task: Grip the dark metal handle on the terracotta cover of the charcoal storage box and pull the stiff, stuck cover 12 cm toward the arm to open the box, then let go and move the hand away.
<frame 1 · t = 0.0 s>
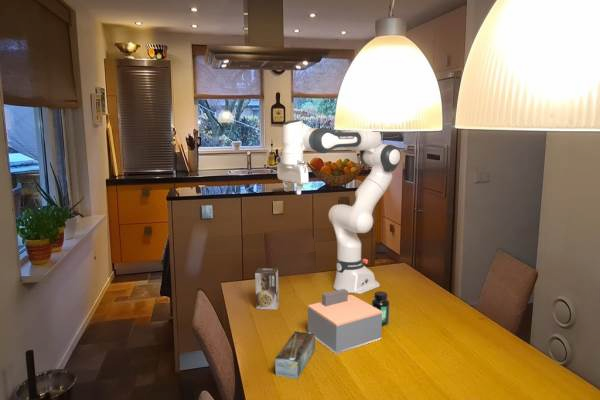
hand: (292, 192, 187), 48 cm above the table, tool pointing down, fingers open, 8 cm apart
supplement bottle: (379, 322, 175), on the table
coffee box: (267, 307, 189), on the table
cover: (344, 304, 161), point 12 cm above the table, slide at 0.0 cm
storage box: (343, 336, 163), on the table
beverage carton: (296, 363, 146), on the table
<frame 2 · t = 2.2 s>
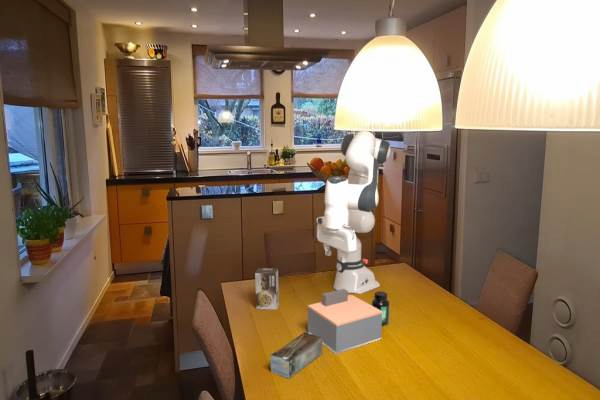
hand: (335, 258, 163), 28 cm above the table, tool pointing down, fingers open, 8 cm apart
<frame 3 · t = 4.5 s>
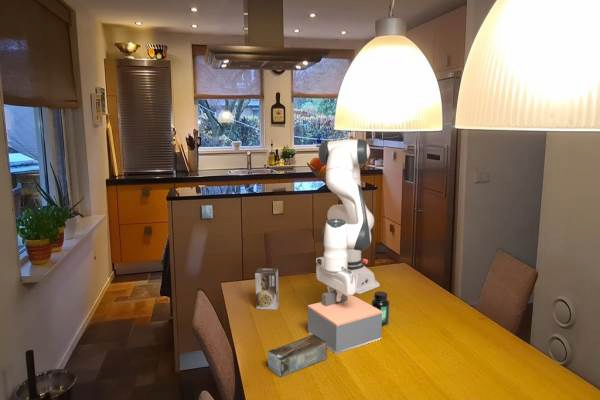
hand: (334, 299, 166), 12 cm above the table, tool pointing down, fingers closed on cover, 2 cm apart
cover: (344, 304, 161), point 12 cm above the table, slide at 0.0 cm, touching gripper
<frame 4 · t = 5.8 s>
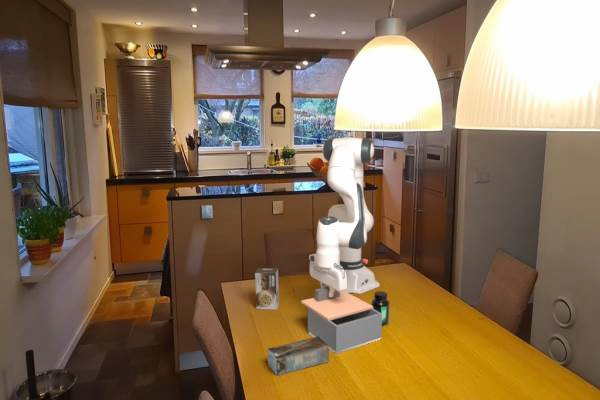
hand: (327, 294, 170), 12 cm above the table, tool pointing down, fingers closed on cover, 2 cm apart
cover: (336, 299, 165), point 12 cm above the table, slide at 4.9 cm, touching gripper
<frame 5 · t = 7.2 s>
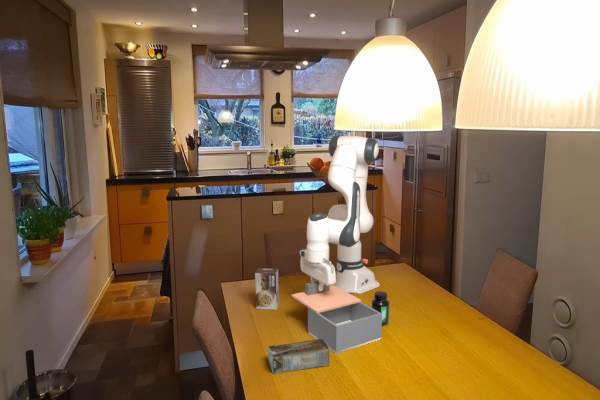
hand: (317, 288, 176), 12 cm above the table, tool pointing down, fingers closed on cover, 2 cm apart
cover: (325, 293, 171), point 12 cm above the table, slide at 11.9 cm, touching gripper
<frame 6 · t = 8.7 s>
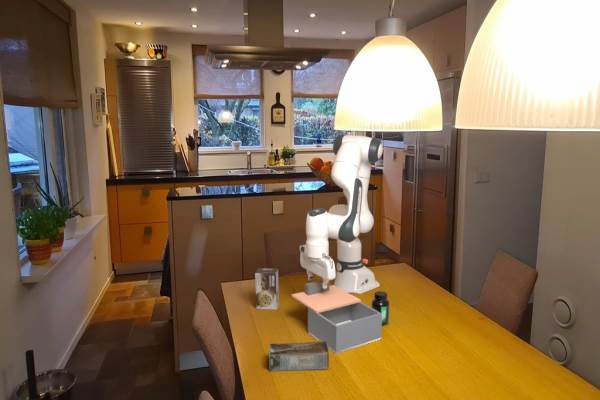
hand: (317, 284, 176), 14 cm above the table, tool pointing down, fingers open, 8 cm apart
cover: (325, 293, 171), point 12 cm above the table, slide at 12.0 cm
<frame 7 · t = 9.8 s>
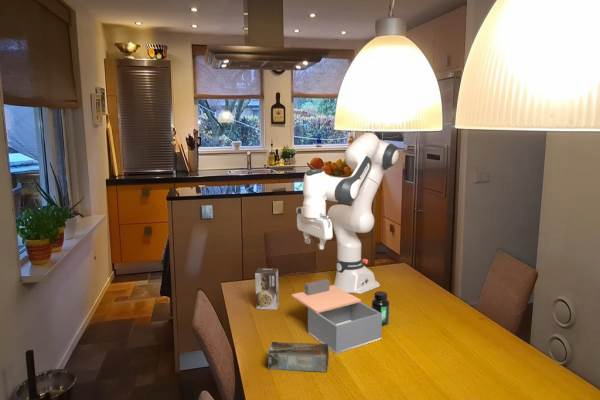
hand: (314, 246, 175), 29 cm above the table, tool pointing down, fingers open, 8 cm apart
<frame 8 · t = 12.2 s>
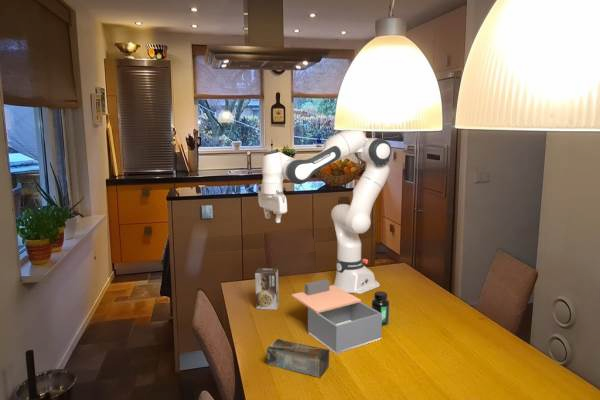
hand: (272, 220, 193), 35 cm above the table, tool pointing down, fingers open, 8 cm apart
at the end: cover slide at 12.0 cm; the gripper is holding nothing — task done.
